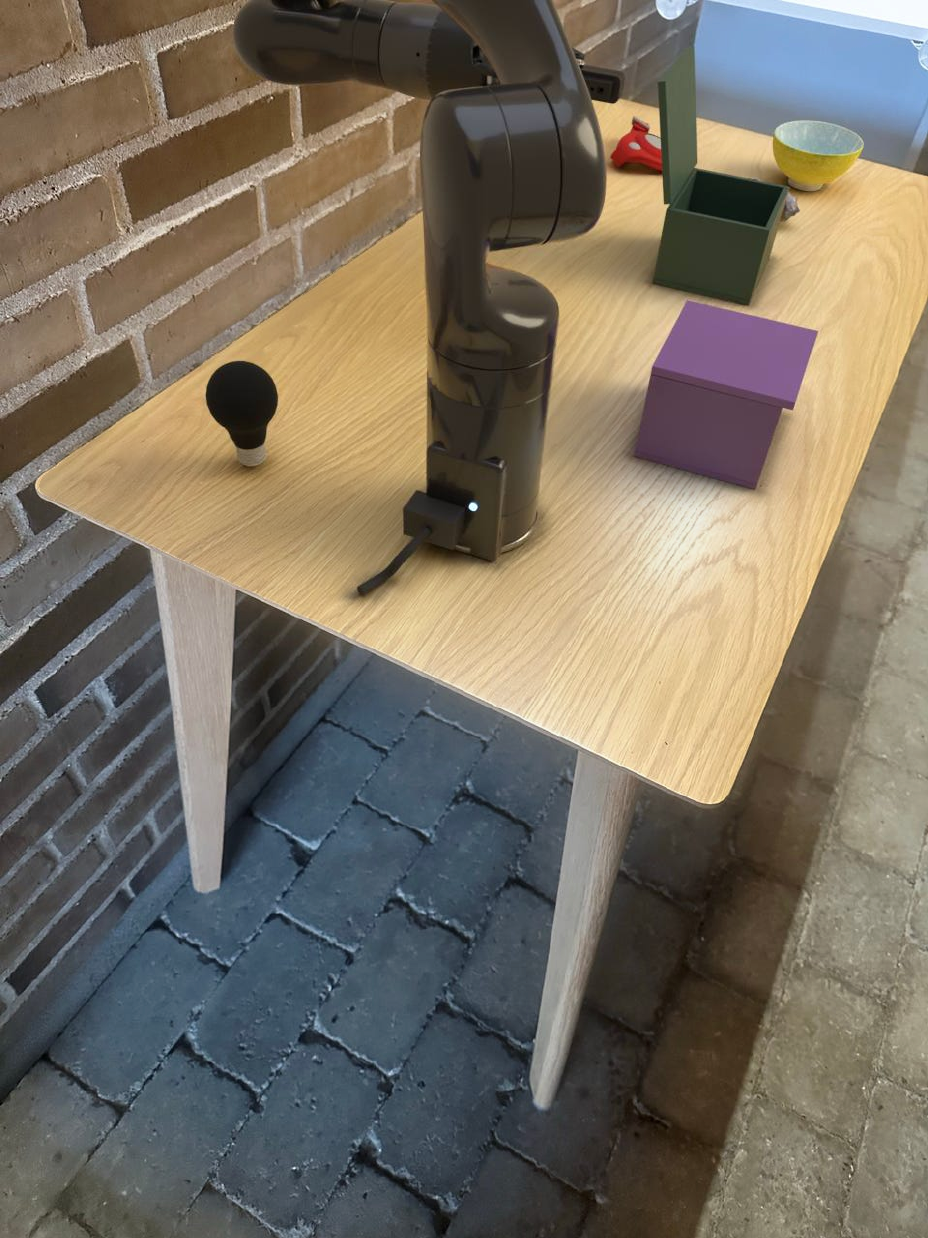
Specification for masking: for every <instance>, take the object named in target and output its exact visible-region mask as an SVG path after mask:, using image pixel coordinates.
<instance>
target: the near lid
mask: <svg viewBox="0 0 928 1238" xmlns="http://www.w3.org/2000/svg"><path fill="white" fill-rule="evenodd" d="M818 334H819V330H816V329H811V328H807V327H802V326H798V325H795V324H790V323H786V322H782V321H777V320H774V319H769V318H765V317H760V316H757V315H753V314H748V313H744V312H739V311H736V310H731V309H727V308H722V307H719V306H714V305H710V304H706V303H702V302H697V301H694V300H690V299H689V300H688V299H687V300H686V301H685V303H684V306H683V307H682V309H681V311H680V313H679V315H678V317H677V318H676V320H675V321H674V324H673V326H672V328H671V330H670V332H669V334H668V335H667V338H666V339H665V341H664V343H663V345H662V347H661V349H660V351H659V352H658V355H657V356H656V358H655V360H654V362H653V364H652V366H651V370H650V375H651V374H653V375H657V376H661V377H665V378H669V379H672V380H676V381H680V382H684V383H688V384H692V385H696V386H700V387H703V388H707V389H711V390H715V391H719V392H723V393H727V394H730V395H734V396H738V397H742V398H746V399H750V400H754V401H758V402H761V403H765V404H769V405H773V406H777V407H781V408H783V409H784V410H785V409H786V410H789V411H794V408H795V406H796V403H797V399H798V396H799V393H800V390H801V387H802V384H803V381H804V378H805V374H806V371H807V368H808V365H809V361H810V359H811V355H812V353H813V349H814V347H815V344H816V340H817V338H818Z"/></svg>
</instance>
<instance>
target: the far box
mask: <svg viewBox="0 0 928 1238" xmlns="http://www.w3.org/2000/svg"><path fill="white" fill-rule="evenodd" d="M790 188H791V186H790V185H783V184H778V183H774V182H768V181H763V180H761V181H758V180H753V179H748V177H743V176H738V175H732V174H728V173H723V172H717V171H713V170H706V169H702V168H698V167H695V168H694V169H693V171H692V172H691V174H690V175H689V177H688V178H687V180H686V182H685V183H684V185H683V186H682V188H681V189H680V191H679V192H678V194H677V196H676V197H675V199H674V200H673V202H672V203H671V204H668V206H667V207H666V211H665V216H664V220H663V227H662V231H661V235H660V236H661V237H660V242H659V247H658V252H657V257H656V262H655V267H654V273H653V278H652V284H653V285H658V286H663V287H666V288H671V289H675V290H679V291H680V290H681V291H684V292H688V293H692V294H696V295H697V294H698V295H701V296H706V297H709V298H715V299H719V300H724V301H727V302H733V303H736V304H741V305H745V306H750V304H751V302H752V300H753V297H754V295H755V293H756V291H757V288H758V286H759V283H760V281H761V279H762V276H763V275H764V272H765V270H766V267H767V265H768V263H769V260H770V258H771V254H772V251H773V248H774V244H775V241H776V237H777V233H778V229H779V226H780V223H781V222H780V220H781V216H782V213H783V209H784V206H785V202H786V199H787V195H788V192H789V193H790V191H789V190H790Z"/></svg>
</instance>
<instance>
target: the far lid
mask: <svg viewBox="0 0 928 1238" xmlns="http://www.w3.org/2000/svg"><path fill="white" fill-rule="evenodd" d="M695 48H696V47H695V46H694V45H691V46H687V47H686V48H685V49H684V50H683V51H682V53H681V54H680V55H679V56H678V57H677V58H676V59H675V61H674V62H673V63H672V64H671V66H670V67H669V68H668V69H667V71H666V72H664V74H663V75H662V76H661V77H660V78H659V80H658V81H657V92H658V95H657V96H658V113H659V114H658V115H659V133H660V136H659V137H660V138H661V157H662V171H661V175H662V196H663V205H670V204H671V203H672V202H673V200H674V199H675V197H676V196H677V194H678V192H679V191H680V189H681V188H682V186H683V185H684V183H685V182H686V180H687V178H688V177H689V175H690V174H691V172H692V171H693V169H694V168H696V166H697V164H698V132H697V131H698V130H697V129H698V128H697V127H698V126H697V125H698V123H697V92H696V91H697V90H696V89H697V87H696V59H695V58H696V53H695V51H696V50H695Z"/></svg>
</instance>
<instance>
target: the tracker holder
mask: <svg viewBox="0 0 928 1238" xmlns="http://www.w3.org/2000/svg"><path fill="white" fill-rule="evenodd" d="M631 125H632V127H631V129H630V131H629V132H628V133H625V134H624V135H623V136H621V138H620V139H619V141H618V143H617V145H616V147H615V150H614V151H613V152H612V153H611V154H610V156H609V157H610V159H611V161H612V162H614V164H615V165H616V166H617V167H618V168H622V167H623V166H624V164H625V163H626V162H627V163H628V162H629V163H630V162H631V163H632V162H633V163H641V164H642V165H645V166H647V167H650V168H653V169H655V170H657V171H658V170H659V171H661V172H662V157H661V136H658V135H655V134H652V133H650V129H651V126H650V125H649V123H647V122H645V121H644V120H642V119H640V118H638V117H637V116H636V115H633V117H632V119H631Z"/></svg>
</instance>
